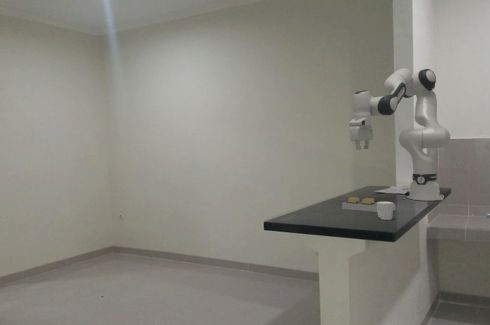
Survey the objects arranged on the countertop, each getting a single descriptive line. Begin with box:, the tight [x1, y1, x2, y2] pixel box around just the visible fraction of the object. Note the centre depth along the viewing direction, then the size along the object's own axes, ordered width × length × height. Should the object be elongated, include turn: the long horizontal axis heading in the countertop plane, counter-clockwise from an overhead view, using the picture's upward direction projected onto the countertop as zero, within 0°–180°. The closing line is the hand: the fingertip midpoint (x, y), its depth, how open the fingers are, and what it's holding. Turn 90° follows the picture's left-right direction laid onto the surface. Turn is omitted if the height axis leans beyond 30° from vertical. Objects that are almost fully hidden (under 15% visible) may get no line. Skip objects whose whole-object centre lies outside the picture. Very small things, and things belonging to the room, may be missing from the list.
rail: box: [341, 200, 397, 213], centre depth 193 cm, size 8×23×4 cm, turn 50°
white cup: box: [376, 201, 394, 221], centre depth 173 cm, size 7×7×7 cm
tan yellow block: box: [361, 197, 375, 205], centre depth 192 cm, size 4×4×5 cm
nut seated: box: [347, 196, 360, 204], centre depth 197 cm, size 4×4×5 cm
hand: (362, 149), depth 207 cm, fingers open, 8 cm apart
